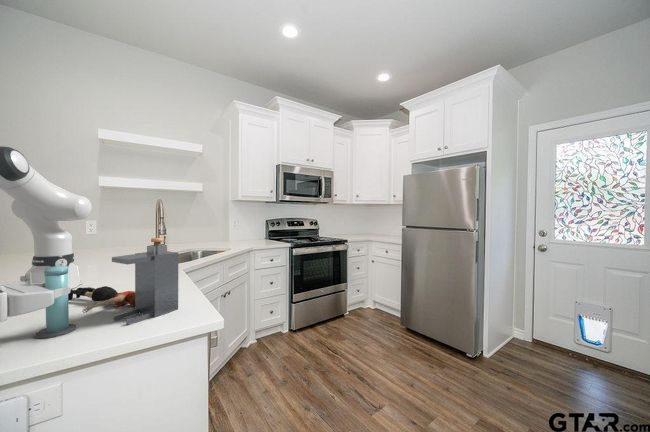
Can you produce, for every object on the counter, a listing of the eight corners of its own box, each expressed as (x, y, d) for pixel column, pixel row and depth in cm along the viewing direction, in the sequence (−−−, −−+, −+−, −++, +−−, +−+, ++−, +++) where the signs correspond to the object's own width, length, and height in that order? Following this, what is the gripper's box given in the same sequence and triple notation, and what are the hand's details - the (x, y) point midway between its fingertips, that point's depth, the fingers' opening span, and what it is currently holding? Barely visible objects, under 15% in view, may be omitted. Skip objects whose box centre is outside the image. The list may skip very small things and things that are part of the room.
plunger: (148, 252, 89) (148, 238, 89) (158, 250, 92) (158, 237, 92) (155, 252, 87) (155, 239, 87) (165, 251, 90) (165, 238, 90)
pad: (29, 334, 72) (29, 332, 72) (67, 323, 79) (67, 321, 79) (43, 341, 69) (43, 339, 69) (82, 328, 76) (82, 326, 76)
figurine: (22, 313, 86) (96, 324, 79) (22, 296, 86) (96, 305, 79) (112, 288, 114) (172, 295, 107) (112, 275, 114) (172, 281, 107)
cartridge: (42, 330, 73) (40, 268, 72) (64, 324, 77) (62, 264, 76) (50, 334, 71) (49, 270, 70) (72, 327, 75) (71, 266, 74)
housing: (110, 320, 82) (109, 248, 81) (159, 304, 96) (159, 243, 95) (130, 326, 78) (129, 251, 77) (178, 309, 92) (178, 245, 91)
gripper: (-35, 308, 66) (42, 293, 79) (-1, 325, 58) (79, 304, 70) (-35, 283, 66) (42, 271, 79) (-2, 295, 58) (79, 280, 70)
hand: (60, 287), depth 74 cm, fingers open, 8 cm apart
